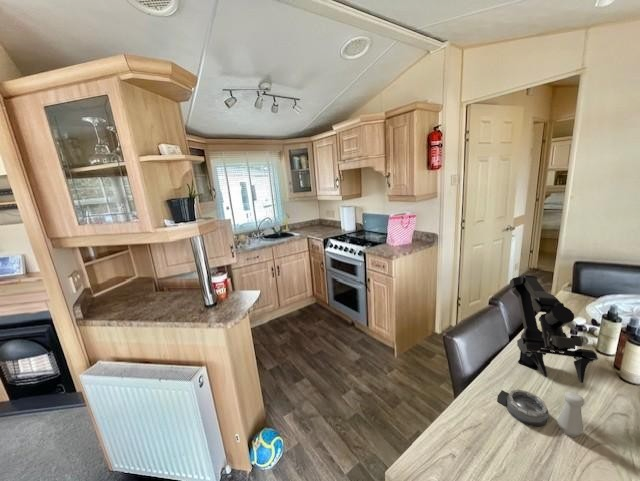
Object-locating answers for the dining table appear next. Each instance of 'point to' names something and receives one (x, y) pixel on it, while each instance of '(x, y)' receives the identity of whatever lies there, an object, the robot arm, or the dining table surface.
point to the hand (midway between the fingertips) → (563, 379)
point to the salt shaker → (571, 415)
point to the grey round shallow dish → (525, 407)
